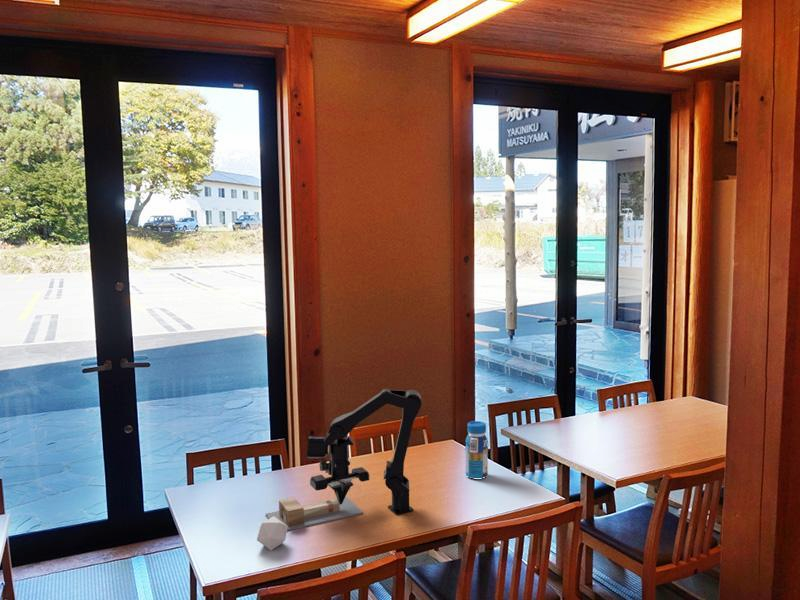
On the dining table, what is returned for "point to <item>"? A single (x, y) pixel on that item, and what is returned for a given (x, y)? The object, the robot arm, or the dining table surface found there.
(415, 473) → the dining table surface
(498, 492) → the dining table surface
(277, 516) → the felt mat
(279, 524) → the die
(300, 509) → the tan block
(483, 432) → the beverage bottle
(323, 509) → the pale wooden bar
